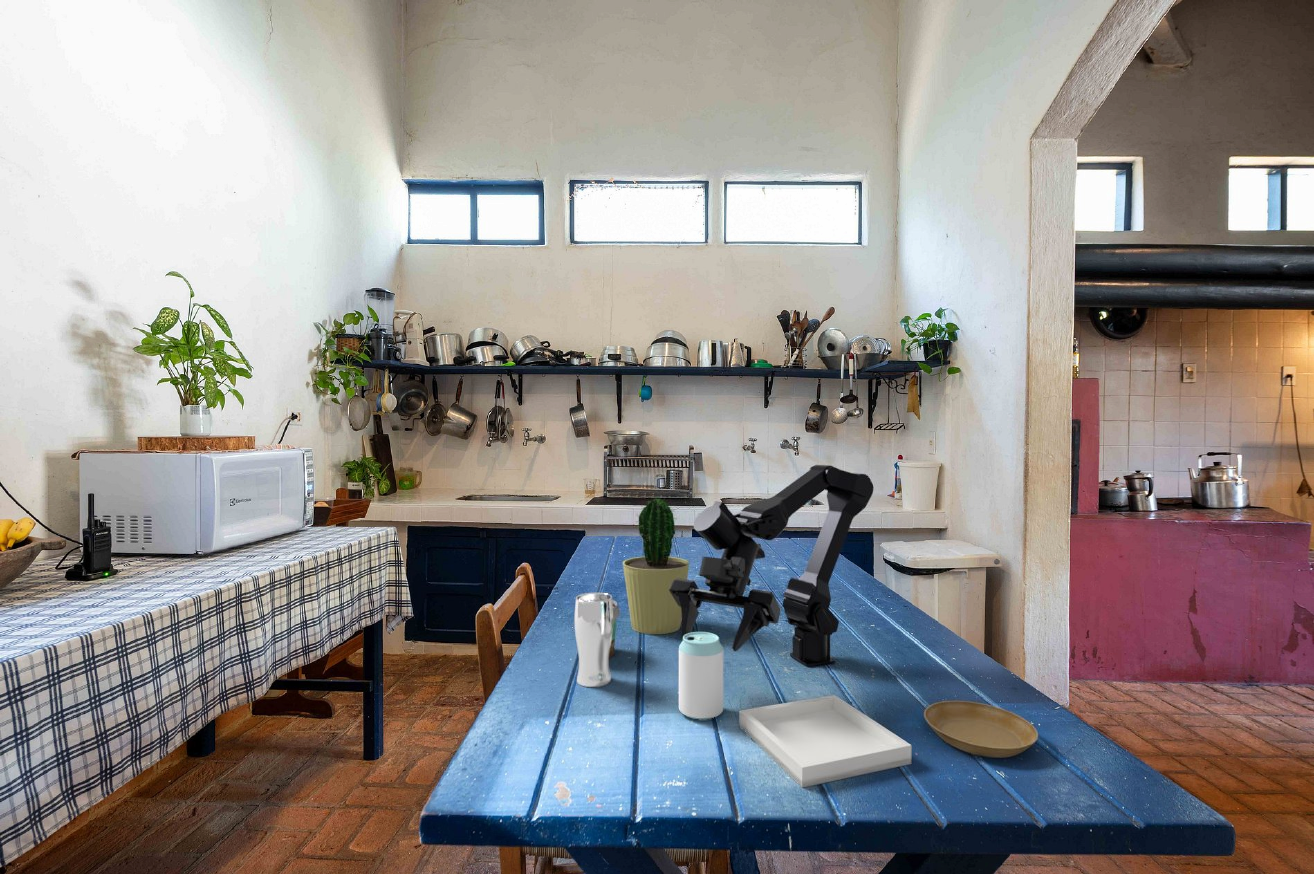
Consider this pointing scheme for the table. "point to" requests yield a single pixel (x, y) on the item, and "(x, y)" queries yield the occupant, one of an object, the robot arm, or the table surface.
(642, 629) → the potted cactus
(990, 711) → the plant saucer
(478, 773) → the table surface
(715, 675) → the can
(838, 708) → the tray
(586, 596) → the beer glass
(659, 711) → the table surface
